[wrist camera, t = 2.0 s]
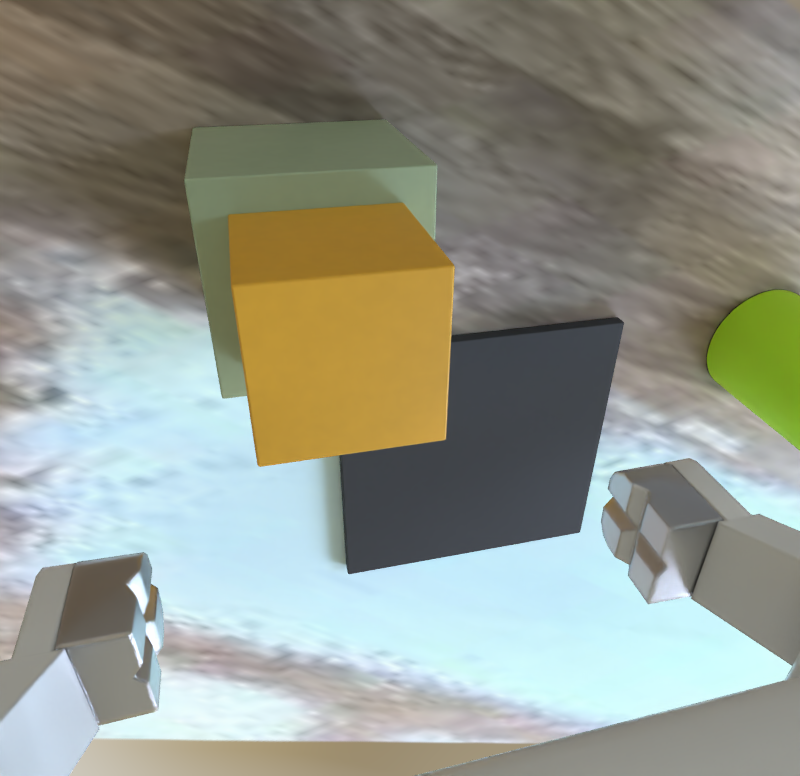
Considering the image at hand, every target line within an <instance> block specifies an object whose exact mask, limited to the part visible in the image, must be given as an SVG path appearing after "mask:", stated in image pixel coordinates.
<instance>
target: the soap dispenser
mask: <svg viewBox="0 0 800 776" xmlns="http://www.w3.org/2000/svg"><path fill="white" fill-rule="evenodd" d="M707 366H708V370H709V373H710V375H711V377H712V378H713V379H714V380H715V381H716V382H717V383H718V384H719V385H721V386H722V387H723V388H724V389H725V390H727V391H728V392H729V393H730V394H732V395H733V396H734V397H735V398H736V399H738V400H739V401H740V402H741V403H742V404H744V405H745V406H746V407H747V408H749V409H750V410H751V411H752V412H753V413H755V414H756V415H757V416H758V417H760V418H761V419H762V420H763V421H764V422H766V423H767V424H768V425H769V426H770V427H772V428H773V429H774V430H775V431H777V432H778V433H779V434H780V435H781V436H783V437H784V438H785V439H786V440H788V441H789V442H790V443H791V444H792V445H794V446H795V447H796V448H797V449H798V450H800V296H799V295H797V294H795V293H793V292H790V291H786V290H772V291H767V292H764V293H761V294H758V295H756V296H754V297H752V298H750V299H748V300H746V301H745V302H743V303H742V304H741V305H739V306H738V307H737V308H735V309H734V310H733V311H732V312H731V313H730V314H729V315H728V316H727V317H726V318H725V319H724V321H723V322H722V323H721V324H720V326H719V327H718V329H717V330H716V332H715V334H714V336H713V338H712V340H711V342H710V345H709V349H708V353H707Z"/></svg>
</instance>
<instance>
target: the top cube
mask: <svg viewBox="0 0 800 776" xmlns="http://www.w3.org/2000/svg"><path fill="white" fill-rule="evenodd" d="M228 230H229V253H230V277H231V291H232V298H233V304H234V311H235V318H236V324H237V331H238V338H239V344H240V351H241V358H242V364H243V371H244V378H245V384H246V391H247V398H248V404H249V411H250V418H251V424H252V431H253V438H254V444H255V451H256V458H257V464H258V466H259V467H261V466H268V465H275V464H282V463H289V462H296V461H303V460H310V459H317V458H324V457H331V456H338V455H345V454H352V453H358V452H365V451H372V450H379V449H386V448H393V447H400V446H407V445H414V444H421V443H428V442H435V441H442V440H445V439H446V429H447V409H448V389H449V369H450V349H451V330H452V310H453V290H454V270H455V267H454V265H453V263H452V262H451V261H450V260H449V258H448V257H447V256H446V255H445V253H444V252H443V251H442V250H441V249H440V247H439V246H438V245H437V244H436V242H435V241H434V240H433V239H432V237H431V236H430V235H429V234H428V232H427V231H426V230H425V229H424V227H423V226H422V225H421V224H420V223H419V221H418V220H417V219H416V218H415V216H414V215H413V214H412V213H411V211H410V210H409V209H408V208H407V206H406V205H405V204H404V203H388V204H374V205H359V206H344V207H330V208H315V209H301V210H286V211H272V212H257V213H243V214H230V215H228Z"/></svg>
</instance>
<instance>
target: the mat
mask: <svg viewBox="0 0 800 776" xmlns="http://www.w3.org/2000/svg"><path fill="white" fill-rule="evenodd" d="M623 325H624V322H623V321H622V320H620V319H619V318H609V319H600V320H591V321H582V322H573V323H564V324H555V325H546V326H537V327H528V328H519V329H510V330H501V331H492V332H483V333H475V334H466V335H457V336H451V349H450V369H449V389H448V409H447V429H446V439H445V440H442V441H435V442H428V443H421V444H414V445H407V446H400V447H393V448H386V449H379V450H372V451H365V452H358V453H352V454H345V455H340V466H341V483H342V499H343V515H344V532H345V548H346V564H347V571H348V574H353V573H358V572H364V571H369V570H375V569H380V568H386V567H391V566H397V565H402V564H408V563H414V562H419V561H425V560H430V559H436V558H441V557H447V556H452V555H458V554H463V553H469V552H474V551H480V550H485V549H491V548H496V547H502V546H507V545H513V544H519V543H524V542H530V541H535V540H541V539H546V538H552V537H557V536H563V535H568V534H574V533H579V532H580V529H581V525H582V520H583V515H584V510H585V505H586V501H587V496H588V491H589V486H590V482H591V477H592V472H593V467H594V463H595V458H596V453H597V448H598V444H599V439H600V434H601V429H602V425H603V420H604V415H605V410H606V406H607V401H608V396H609V391H610V387H611V382H612V377H613V372H614V368H615V363H616V358H617V353H618V349H619V344H620V339H621V334H622V330H623Z"/></svg>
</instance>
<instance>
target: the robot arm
mask: <svg viewBox="0 0 800 776" xmlns="http://www.w3.org/2000/svg"><path fill="white" fill-rule="evenodd" d="M608 490H609V491H610V493H611V494H612V496H613V497H612V498H611V500H610V501H609V502H608V503H607V504H606V505H605V506H604V507H603V513H602V519H601V524H602V530H603V536H604V538H605V541H606V543H607V545H608V547H609V549H610V550H611V552H612V553H613V555H614V556H615V557H616V558H618V559H620V560H622V561H623V562H625V563H627V564H629V571H628V576H629V578H630V579H631V580H632V582H633V583H634V585H635V586H636V588H637V589H638V590H639V592H640V593H641V595H642V596H643V597H644V599H645V600H646V602H647V603H648V604H652V603H657V602H663V601H668V600H673V599H679V598H684V597H689V596H692V597H691V599H693V600H694V601H696V602H697V603H699V604H700V605H702V606H703V607H705V608H706V609H708V610H709V611H711V612H712V613H714V614H715V615H717V616H718V617H720V618H721V619H723V620H724V621H726V622H727V623H729V624H730V625H732V626H733V627H735V628H736V629H738V630H739V631H741V632H742V633H744V634H745V635H747V636H748V637H750V638H751V639H753V640H754V641H756V642H757V643H759V644H760V645H762V646H763V647H765V648H766V649H768V650H769V651H771V652H772V653H774V654H775V655H777V656H778V657H780V658H781V659H783V660H784V661H786V662H787V663H789V664H790V665H792V668H791V670H790V672H789V673H788V675H787V677H786V679H785V680H784V681H781V682H777V683H773V684H769V685H765V686H761V687H757V688H753V689H749V690H746V691H742V692H738V693H734V694H730V695H726V696H722V697H718V698H714V699H711V700H707V701H703V702H699V703H695V704H691V705H687V706H683V707H679V708H676V709H672V710H668V711H664V712H660V713H656V714H652V715H648V716H644V717H641V718H637V719H633V720H629V721H625V722H621V723H617V724H613V725H610V726H606V727H602V728H598V729H594V730H590V731H586V732H582V733H578V734H575V735H571V736H567V737H563V738H559V739H555V740H551V741H547V742H543V743H540V744H536V745H532V746H529V747H524V748H520V749H517V750H512V751H509V752H505V753H501V754H497V755H493V756H489V757H485V758H481V759H477V760H474V761H470V762H466V763H462V764H458V765H454V766H450V767H447V768H443V769H439V770H435V771H431V772H427V773H423V774H419V775H415V776H800V531H798V530H795V529H793V528H791V527H788V526H786V525H784V524H781V523H779V522H777V521H774V520H772V519H770V518H767V517H765V516H763V515H760V514H756V515H751V514H750V513H749V512H748V511H747V510H746V509H745V508H744V507H743V506H742V505H741V504H740V503H739V502H738V501H737V500H736V499H735V498H734V497H733V496H732V495H731V494H730V493H729V492H728V491H727V490H726V489H724V488H723V487H722V486H721V485H720V484H719V483H718V482H717V481H716V480H715V479H714V478H713V477H712V476H711V475H710V474H709V473H708V472H707V471H706V470H705V469H704V468H703V467H702V466H701V465H700V464H699V463H698V462H697V461H695V460H692V459H690V458H688V459H683V460H677V461H672V462H666V463H664V464H656V465H651V466H645V467H639V468H634V469H628V470H623V471H617V472H615V473H614V474H613V475H612V477H611V478H610V481H609V486H608ZM151 575H152V567H151V564H150V561H149V558H148V555H147V554H146V553H144V552H142V553H136V554H129V555H122V556H115V557H108V558H101V559H95V560H88V561H81V562H77V563H73V564H66V565H59V566H52V567H44V568H42V569H41V571H40V572H39V573H38V575H37V576H36V578H35V581H34V585H33V588H32V591H31V595H30V598H29V602H28V605H27V608H26V612H25V615H24V618H23V622H22V625H21V628H20V632H19V635H18V638H17V642H16V645H15V649H14V652H13V655H12V659H9V660H4V661H0V776H69V775H70V773H71V772H72V770H73V769H74V767H75V766H76V764H77V763H78V761H79V760H80V758H81V756H82V755H83V753H84V752H85V750H86V749H87V747H88V746H89V744H90V743H91V741H92V740H93V738H94V737H95V735H96V733H97V732H98V730H99V727H98V726H99V725H103V724H107V723H111V722H115V721H119V720H123V719H127V718H132V717H136V716H140V715H144V714H148V713H152V712H156V711H158V706H159V694H160V681H161V670H160V666H159V663H158V660H157V657H156V655H157V654H158V653H159V652H160V650H161V649H162V648H163V639H164V622H163V609H162V603H161V598H160V594H159V591H158V588H157V587H155V586H153V585H152V584H151Z"/></svg>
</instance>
